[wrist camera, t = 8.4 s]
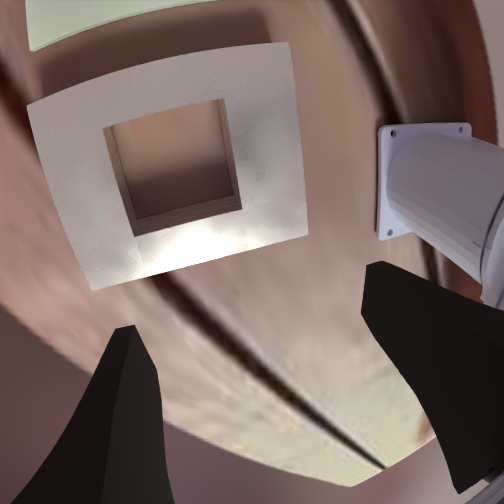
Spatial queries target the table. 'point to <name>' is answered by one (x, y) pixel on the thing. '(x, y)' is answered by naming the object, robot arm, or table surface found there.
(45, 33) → the pad
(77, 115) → the socket block
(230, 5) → the table surface
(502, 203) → the robot arm
